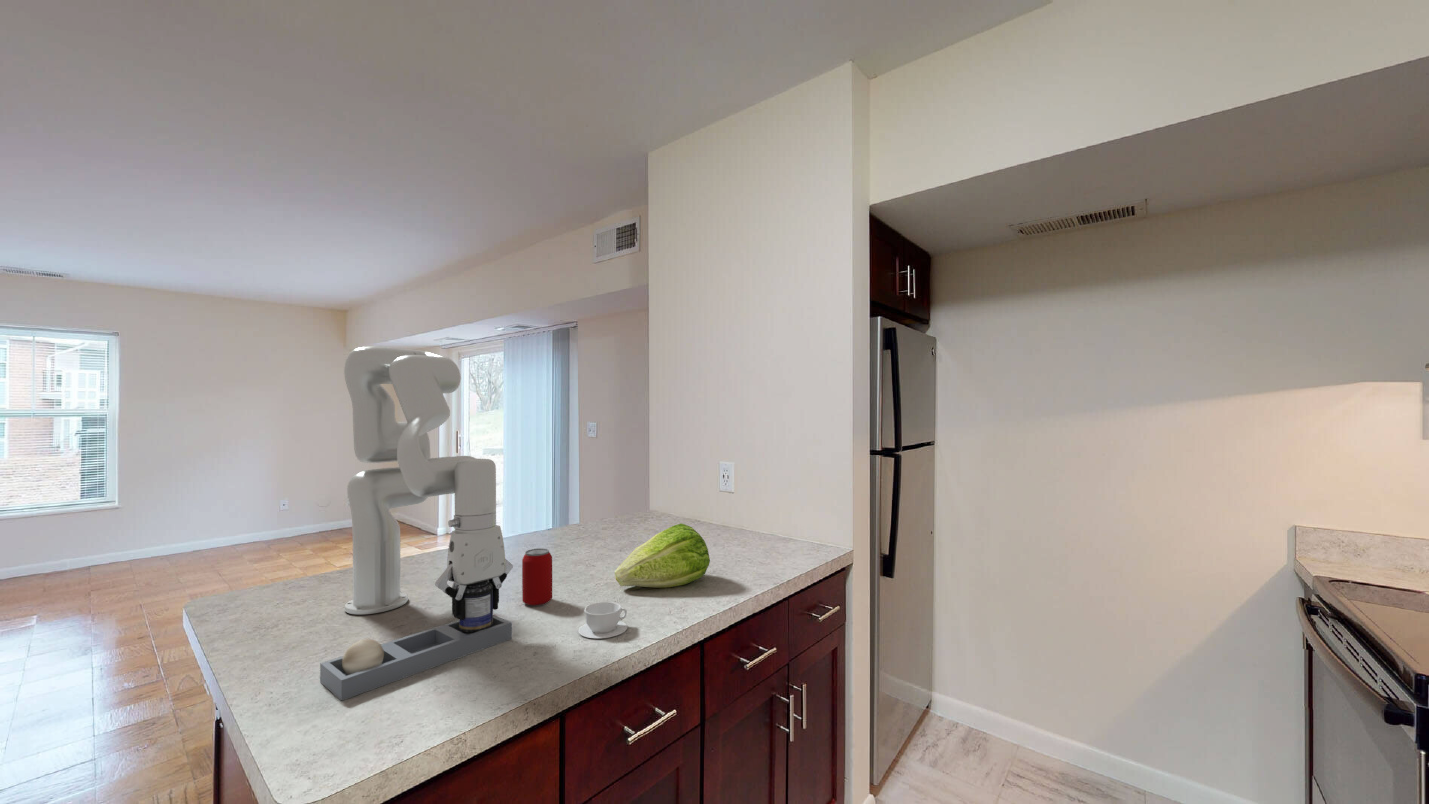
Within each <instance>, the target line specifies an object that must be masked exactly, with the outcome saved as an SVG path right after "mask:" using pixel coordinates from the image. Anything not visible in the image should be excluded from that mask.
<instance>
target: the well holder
mask: <svg viewBox="0 0 1429 804" xmlns="http://www.w3.org/2000/svg"><path fill="white" fill-rule="evenodd" d="M511 639H513V623H512V621H509V620H508V619H505V618H502V617H500V616H497V615H496V614H493V625H492V626H491V627H490V628H487V629H484V630H481V631H478V632H475V633H470V634H467V633H463V632H462V631H460V629H459V619H456V620H455V621H451V622H448V623H446V624H442V625H439V626H435V627H432V628H429V629H426V630H422V631H420V632H419V631H418V632H417V633H412V634H410V635H406V636H404V637H400V638H396V639H394V640H390V641H388V642H384V643H381V644H380V643H379V644H380V645H381V646H382V648H383V651H384V658H383V662H382V664H380V665H377V666H374V667H372V668H369V669H366V670H363V671H360V672H357V673H354V674H351V675H347V674H346V673H345V671H344V669H343V667H342V659H343V656H344V655H342V656H339V657H336V658H332V659H330V660H326V661H323V662H320V663H319V664H320V665H319V673H320V675H319V680H320V681H319V682H320V684H322V685H323V686H324V687H325V688H326V689H327V690H329V692H331V693H332V694H333V695H334V696H335V697H337V698H338V699H339V700H340V701H345V700H347V699H351V698H353V697H356V696H359V695H361V694H364V693H366V692H370V691H372V690H375V689H377V688H381V687H383V686H387V685H388V684H391V683H393V682H397V681H400V680H402V679H405V678H408V677H410V676H413V675H416V674H418V673H421V672H424V671H426V670H429V669H432V668H436V667H437V666H438V667H439V666H441V665H443V664H446V663H449V662H452V661H454V660H457V659H460V658H463V657H465V656H467V655H470V654H474V653H477V652H479V651H482V650H485V649H487V648H491V647H493V646H495V645H498V644H500V643H503V642H506V641H509V640H511Z"/></svg>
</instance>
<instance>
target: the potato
mask: <svg viewBox="0 0 1429 804" xmlns="http://www.w3.org/2000/svg"><path fill="white" fill-rule="evenodd" d="M342 656H343V659H342V667H343V669H344V671H345V673H346V674H347V675H351V674H354V673H357V672H360V671H363V670H366V669H369V668H372V667H374V666H377V665H380V664H382V662H383V658H384V651H383V648H382V646H381V645H380V643H379V642H378V641H377V640H374V639H369V638H364V639H360V640H358V641H356V642H354V643H352V644H351V645H350V646H348V648H346V651H345V652H344V653H343V655H342Z"/></svg>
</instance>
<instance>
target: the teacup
mask: <svg viewBox="0 0 1429 804" xmlns="http://www.w3.org/2000/svg"><path fill="white" fill-rule="evenodd" d="M583 612H584V616H585V617H584V619H585V623H584V624H582V625H581V626H579V627H578V631H577V632H578V634H579V635H580V636H581V637H585V638H588V639H589V638H590V639H608V638H613V637H616V636H619V635H621V634H623V633H625V632H626V631H627V630H628V624H627V623H626V621H623V620H625V618H626V617H627V614H628V613H627V612H628V611H627V609H626V608H625V607H622V606H621V604H619V603H618V602H613V601H599V602H594V603H592V604H588V605H586V607H585V608H584V611H583ZM622 612H624V613H623V615H622V616H621V613H622Z"/></svg>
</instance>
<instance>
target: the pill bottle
mask: <svg viewBox="0 0 1429 804" xmlns="http://www.w3.org/2000/svg"><path fill="white" fill-rule="evenodd" d="M462 598H463V599H465V619H464V620H459V619H458V620H459V629H460V631H462V632H463V633H467V634H470V633H475V632H478V631H481V630H484V629H487V628H490V627H491V626H492V625H493V615H494V609H493V585H492V584H491V583H490V582H488V580H485V581H481V582H477V583H473V584H469V585H466V588H465V590H464V593H463V596H462Z"/></svg>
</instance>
